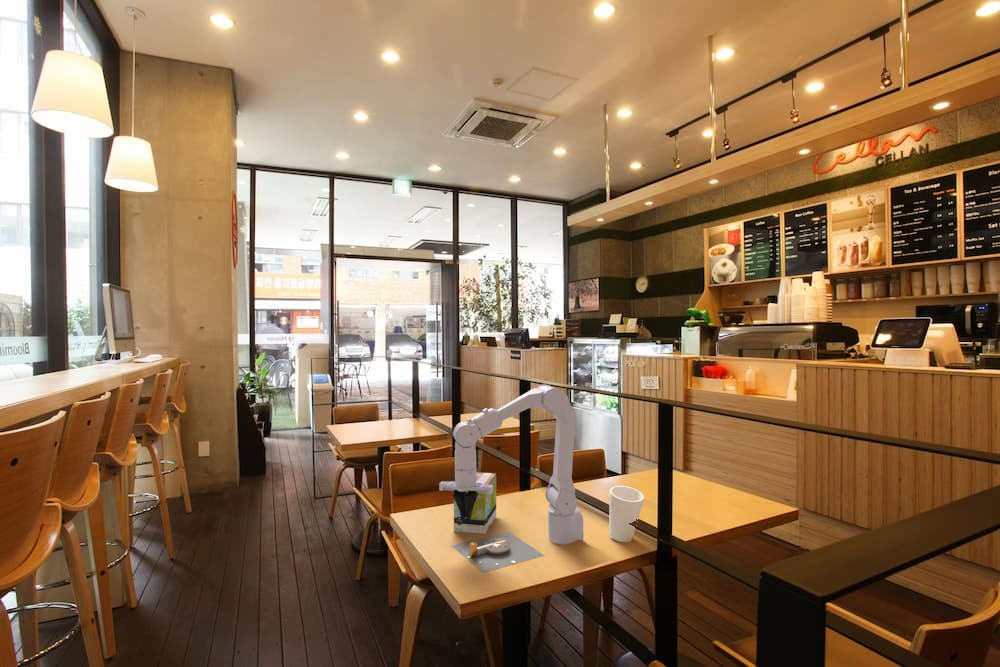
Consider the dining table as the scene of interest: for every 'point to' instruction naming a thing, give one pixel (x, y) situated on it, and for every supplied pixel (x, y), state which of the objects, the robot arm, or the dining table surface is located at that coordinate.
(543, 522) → the dining table surface
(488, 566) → the panel
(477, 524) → the tea box
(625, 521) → the foam cup
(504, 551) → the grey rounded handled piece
